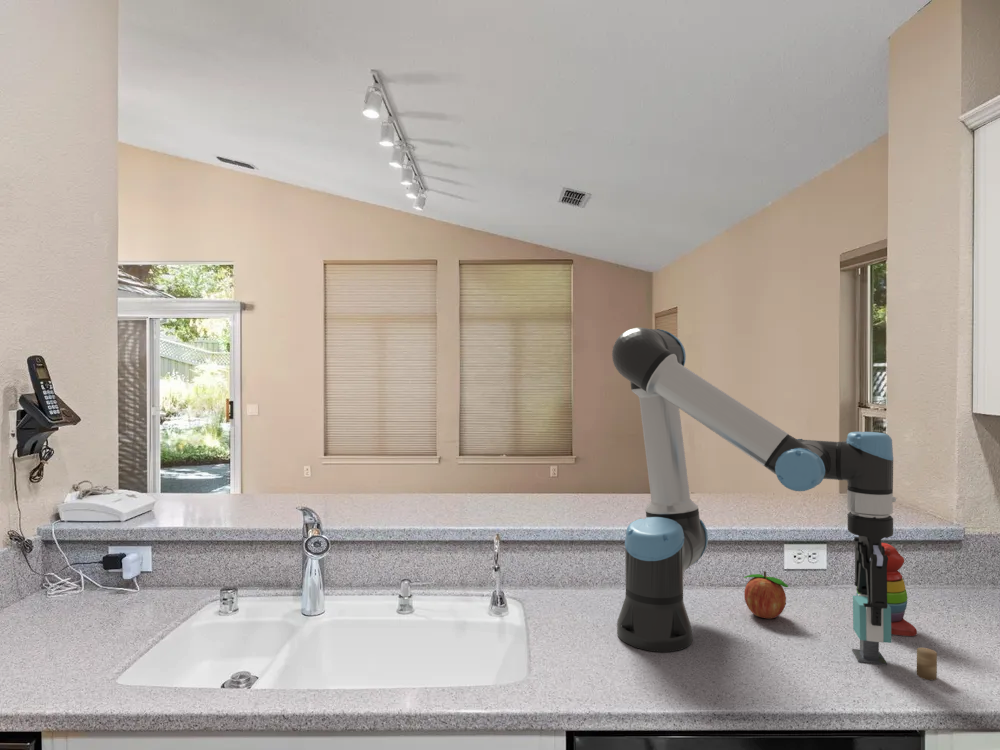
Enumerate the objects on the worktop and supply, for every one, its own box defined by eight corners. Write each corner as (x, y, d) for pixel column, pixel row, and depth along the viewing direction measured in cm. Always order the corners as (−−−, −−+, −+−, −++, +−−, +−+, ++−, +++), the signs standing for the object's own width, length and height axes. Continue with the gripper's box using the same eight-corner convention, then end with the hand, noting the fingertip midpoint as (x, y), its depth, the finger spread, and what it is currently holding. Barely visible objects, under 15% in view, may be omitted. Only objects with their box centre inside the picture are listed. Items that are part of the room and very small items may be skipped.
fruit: (775, 627, 134) (775, 581, 134) (734, 614, 141) (734, 570, 141) (794, 617, 139) (794, 572, 139) (753, 604, 147) (754, 562, 146)
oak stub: (920, 678, 112) (920, 653, 112) (914, 671, 115) (914, 646, 115) (939, 681, 111) (939, 656, 111) (933, 673, 114) (933, 648, 114)
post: (858, 661, 118) (858, 624, 118) (852, 650, 123) (852, 615, 123) (887, 665, 117) (887, 628, 117) (879, 653, 121) (879, 618, 121)
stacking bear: (920, 637, 129) (921, 551, 128) (866, 633, 131) (867, 548, 130) (898, 617, 139) (899, 537, 139) (848, 613, 141) (849, 535, 141)
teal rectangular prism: (859, 639, 118) (859, 605, 118) (853, 628, 123) (852, 595, 123) (891, 642, 116) (890, 607, 116) (883, 631, 121) (882, 597, 121)
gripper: (908, 526, 110) (908, 658, 110) (878, 504, 127) (878, 618, 127) (860, 523, 112) (860, 652, 112) (837, 502, 129) (837, 614, 129)
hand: (870, 634), depth 120 cm, fingers closed on teal rectangular prism, 5 cm apart
